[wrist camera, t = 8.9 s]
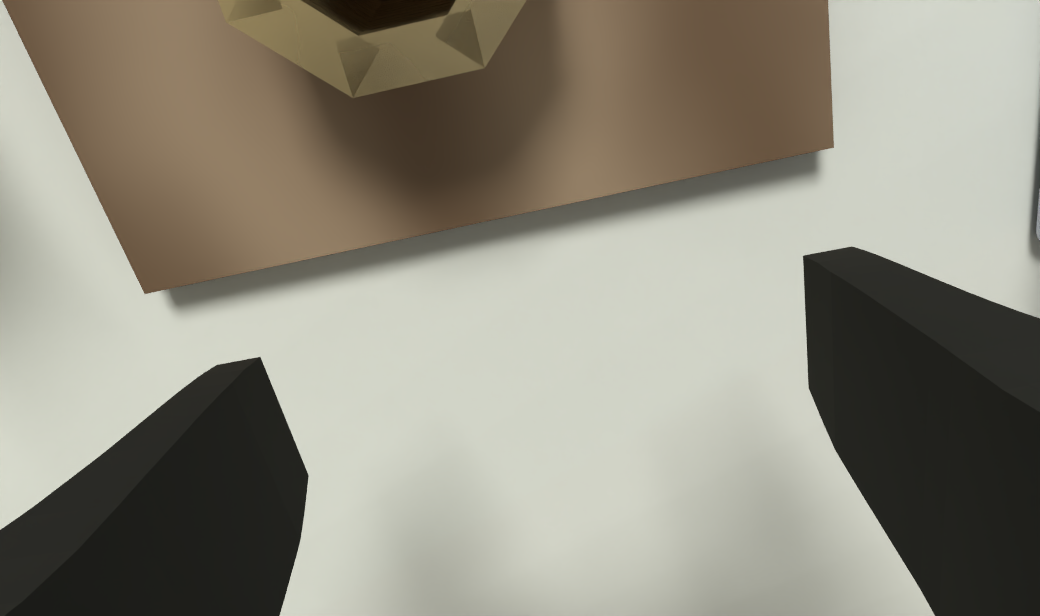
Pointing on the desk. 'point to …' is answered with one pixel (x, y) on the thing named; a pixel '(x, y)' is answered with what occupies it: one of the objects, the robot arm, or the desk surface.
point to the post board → (411, 122)
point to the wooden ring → (377, 37)
